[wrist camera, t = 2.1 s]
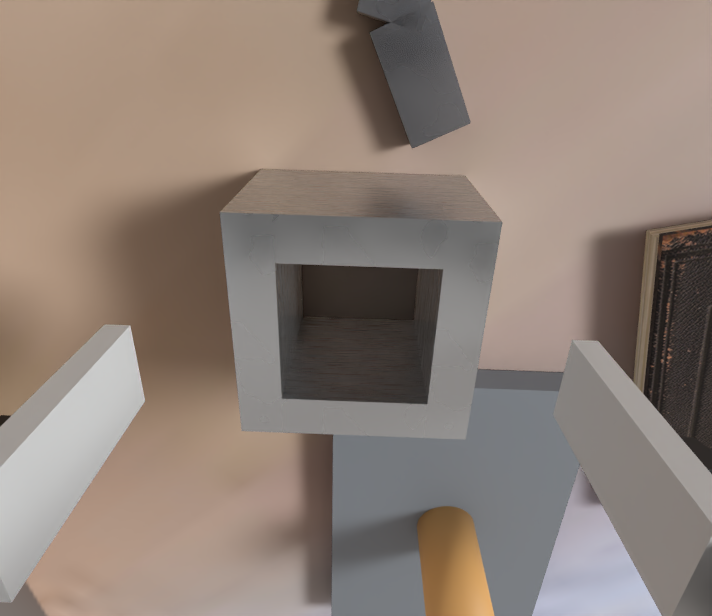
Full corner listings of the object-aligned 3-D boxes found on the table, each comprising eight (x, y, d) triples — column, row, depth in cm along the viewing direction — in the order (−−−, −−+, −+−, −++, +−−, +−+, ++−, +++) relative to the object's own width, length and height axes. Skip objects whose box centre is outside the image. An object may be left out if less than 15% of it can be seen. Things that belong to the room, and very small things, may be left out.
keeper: (335, 363, 23) (321, 487, 17) (589, 373, 23) (677, 501, 17) (332, 598, 32) (323, 744, 25) (520, 606, 31) (560, 754, 25)
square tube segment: (261, 169, 19) (219, 212, 14) (465, 175, 19) (502, 222, 14) (271, 343, 23) (241, 430, 18) (443, 350, 23) (465, 439, 18)
